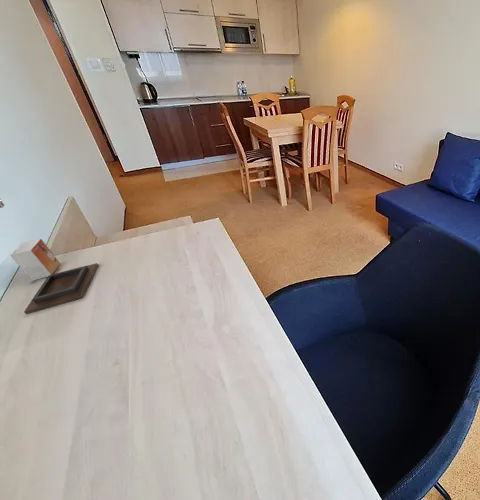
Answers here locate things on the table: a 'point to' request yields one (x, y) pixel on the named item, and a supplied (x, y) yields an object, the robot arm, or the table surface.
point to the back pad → (62, 288)
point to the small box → (35, 259)
